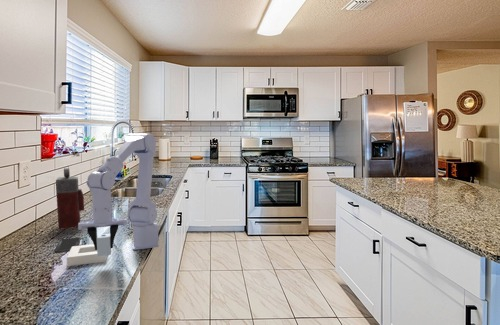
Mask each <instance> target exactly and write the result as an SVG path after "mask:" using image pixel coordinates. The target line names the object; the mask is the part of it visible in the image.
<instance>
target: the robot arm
mask: <svg viewBox="0 0 500 325" xmlns="http://www.w3.org/2000/svg"><path fill="white" fill-rule="evenodd" d="M156 146H157V140H156V138H155V136H154V134H152V133H149V132H148V133H128V134H127V135H126V136H125V137H124V141H123V144H122V146H121V147H120V148H119V150H118V151H117V152H116V154H115V155H113V156H108V157H107V158H106V161H105V162H103V164H102V165H100V166H99V168H98V169H97V170H96V171H93V172H91V173H90V174H89V175H88V176H87V181H86V186H87V187H88V188H89V193H90V194H91V204H92V205H91V206H92V220H88V221H80V223H78V227H77V229H78V231H81V230H86V229H87V234H88V236H89V237H90V240H91V241H92V244H94V246H95V250H97V235H98V229H99V228H107V227H109V234H110V237H111V244H110V246H111V249H113V248H114V241H115V238H116V235H117V232H118V230H119V226H127V218H128V221H129V222H130V224H131V225H132V235H133V236H132V237H133V242H132V250H133V251H134V250H135V251H136V250H145V249H151V248H154V249H155V248H158V247H159V246H160V245H159V241H160V239H159V237H160V236H159V226H158V222H155V221H156V220H157V214H158V213H157V207H156V206H157V204H156V203H155V202H154V201H153V200H152V199H151V192H152V182H153V168H154V167H153V166H154V158H155V157H154V156H155V155H156V148H157V147H156ZM132 154H134V155H135V156H137V157H138V172H137V173H138V174H137V183H136V192H135V193H136V194H135V199H134V200H133V201H131V202H130V203H129V208H128V210H127V217H125V218H113V215H112V214H113V212H112V210H113V209H112V193H111V188H113V187H114V185H115V180H116V178H117V176H118V174H119V173H120V171H122V170H123V168H124V162H126V160H127V159H128V158H129V157H130V156H131V155H132Z"/></svg>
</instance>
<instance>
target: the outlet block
mask: <svg viewBox="0 0 500 325" xmlns="http://www.w3.org/2000/svg"><path fill="white" fill-rule="evenodd" d="M107 257H108V255H104V256H97V250H95V246H94V243H92V244H91V243H90V244H82V245H79V246H72V248H71V250H70V251H68V254H67V255H66V266H67V267H71V266H72V267H73V266H79V265H80V266H81V265H87V264H89V265H90V264H94V263H95V264H97V263H102V262H107Z"/></svg>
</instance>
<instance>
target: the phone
mask: <svg viewBox="0 0 500 325" xmlns="http://www.w3.org/2000/svg"><path fill="white" fill-rule="evenodd" d="M80 240H82V238H81V237H70V238H63V239H62V238H61V239H59V241H58V242H57V245H56V247H55V249H54V253H65V252H70V250H71V248H72V246H80V243H81V241H80Z"/></svg>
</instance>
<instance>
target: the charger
mask: <svg viewBox="0 0 500 325" xmlns="http://www.w3.org/2000/svg"><path fill="white" fill-rule="evenodd" d="M110 244H111V237H110V233H102V234H97V256H104V255H107V256H110V255H112V248H111V246H110Z"/></svg>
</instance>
